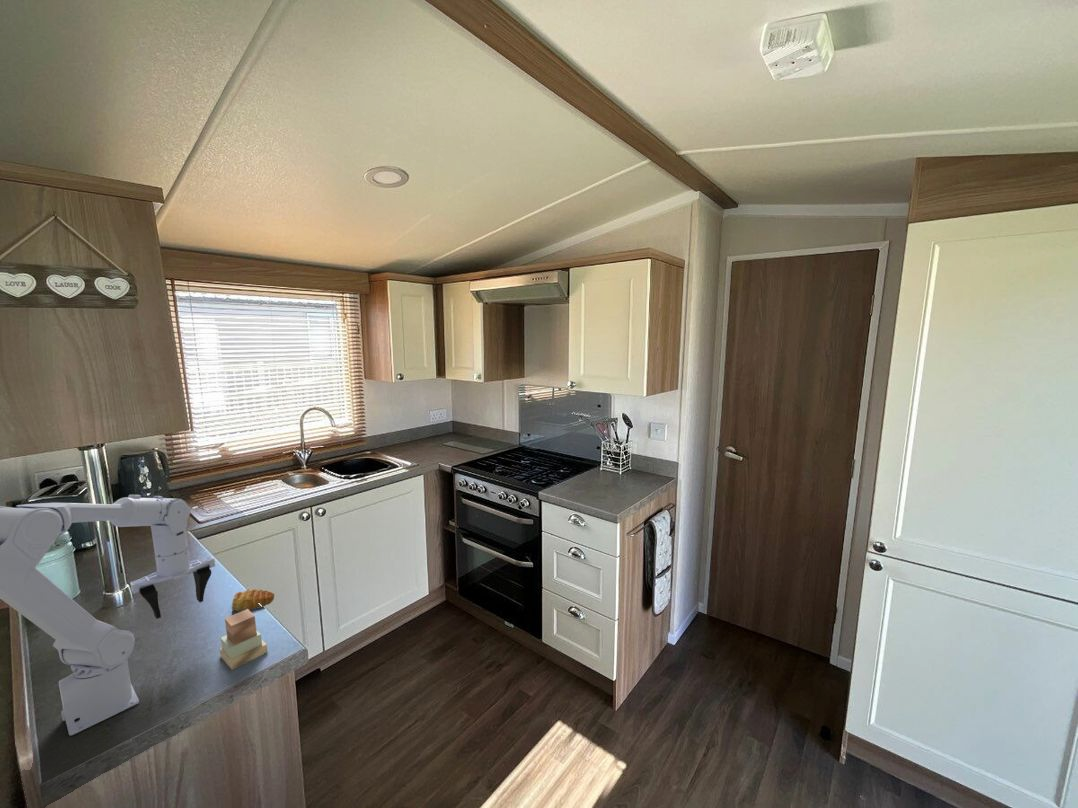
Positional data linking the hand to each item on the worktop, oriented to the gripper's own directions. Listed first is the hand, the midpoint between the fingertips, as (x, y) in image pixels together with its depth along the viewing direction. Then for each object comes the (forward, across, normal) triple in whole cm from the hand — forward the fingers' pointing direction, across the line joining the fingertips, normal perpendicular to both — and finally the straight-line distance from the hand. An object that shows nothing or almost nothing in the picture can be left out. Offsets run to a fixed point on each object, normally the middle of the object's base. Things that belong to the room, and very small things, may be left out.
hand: (179, 608), depth 101 cm
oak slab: (+11, +8, -12) cm, 18 cm away
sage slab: (+8, +8, -12) cm, 17 cm away
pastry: (+11, +17, +9) cm, 22 cm away
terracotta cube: (+6, +8, -12) cm, 16 cm away
